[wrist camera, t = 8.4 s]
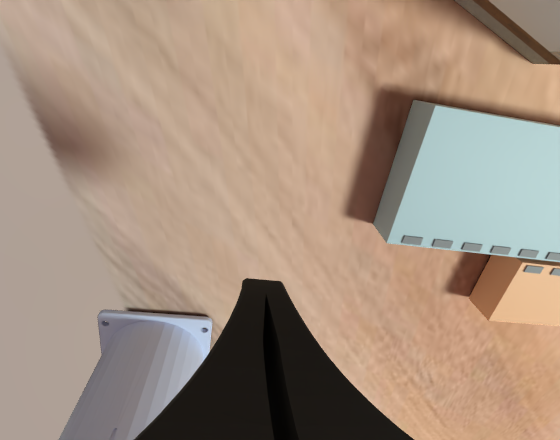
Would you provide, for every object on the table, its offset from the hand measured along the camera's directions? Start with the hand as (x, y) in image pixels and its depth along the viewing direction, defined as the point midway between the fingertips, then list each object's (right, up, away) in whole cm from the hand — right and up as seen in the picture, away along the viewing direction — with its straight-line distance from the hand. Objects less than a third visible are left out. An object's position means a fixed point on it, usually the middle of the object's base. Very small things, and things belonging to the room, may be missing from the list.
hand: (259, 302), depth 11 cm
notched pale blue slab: (+14, +5, +9) cm, 18 cm away
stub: (+21, -2, +14) cm, 25 cm away
